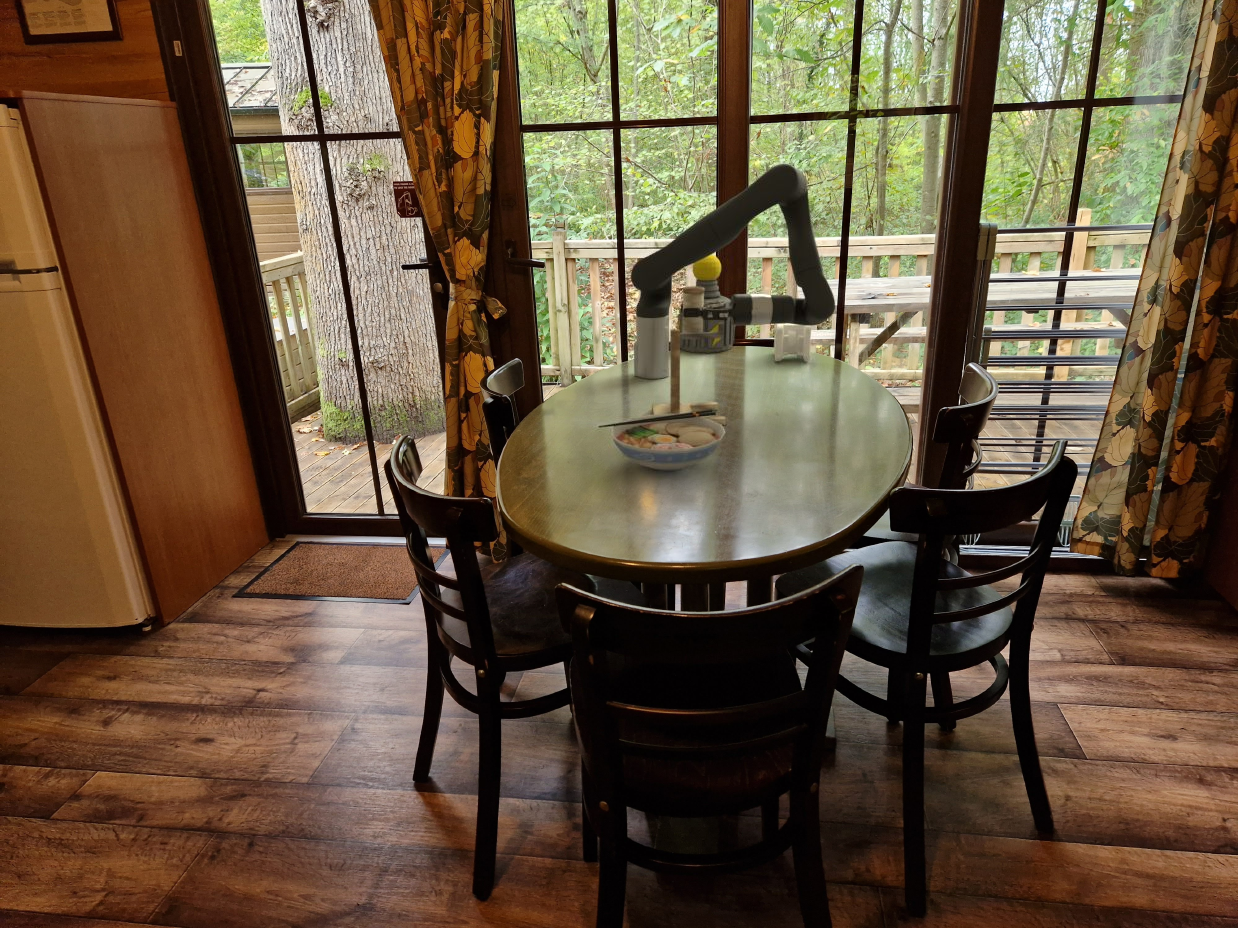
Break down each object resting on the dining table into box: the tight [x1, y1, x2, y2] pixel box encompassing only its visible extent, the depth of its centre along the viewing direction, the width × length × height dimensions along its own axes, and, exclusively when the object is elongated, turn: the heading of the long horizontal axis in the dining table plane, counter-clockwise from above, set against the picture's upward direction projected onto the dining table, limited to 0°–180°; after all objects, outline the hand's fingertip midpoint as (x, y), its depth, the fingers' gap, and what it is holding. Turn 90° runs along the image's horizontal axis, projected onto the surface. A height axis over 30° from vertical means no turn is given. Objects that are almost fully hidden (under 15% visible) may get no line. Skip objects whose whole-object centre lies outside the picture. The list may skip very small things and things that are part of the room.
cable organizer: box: [773, 323, 812, 363], centre depth 239 cm, size 15×11×12 cm
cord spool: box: [682, 285, 704, 333], centre depth 193 cm, size 5×5×12 cm
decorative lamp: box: [675, 254, 737, 354], centre depth 253 cm, size 19×19×30 cm
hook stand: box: [651, 323, 727, 426], centre depth 183 cm, size 16×14×22 cm
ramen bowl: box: [598, 409, 726, 472], centre depth 156 cm, size 25×23×8 cm
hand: (682, 310), depth 192 cm, fingers closed on cord spool, 5 cm apart
